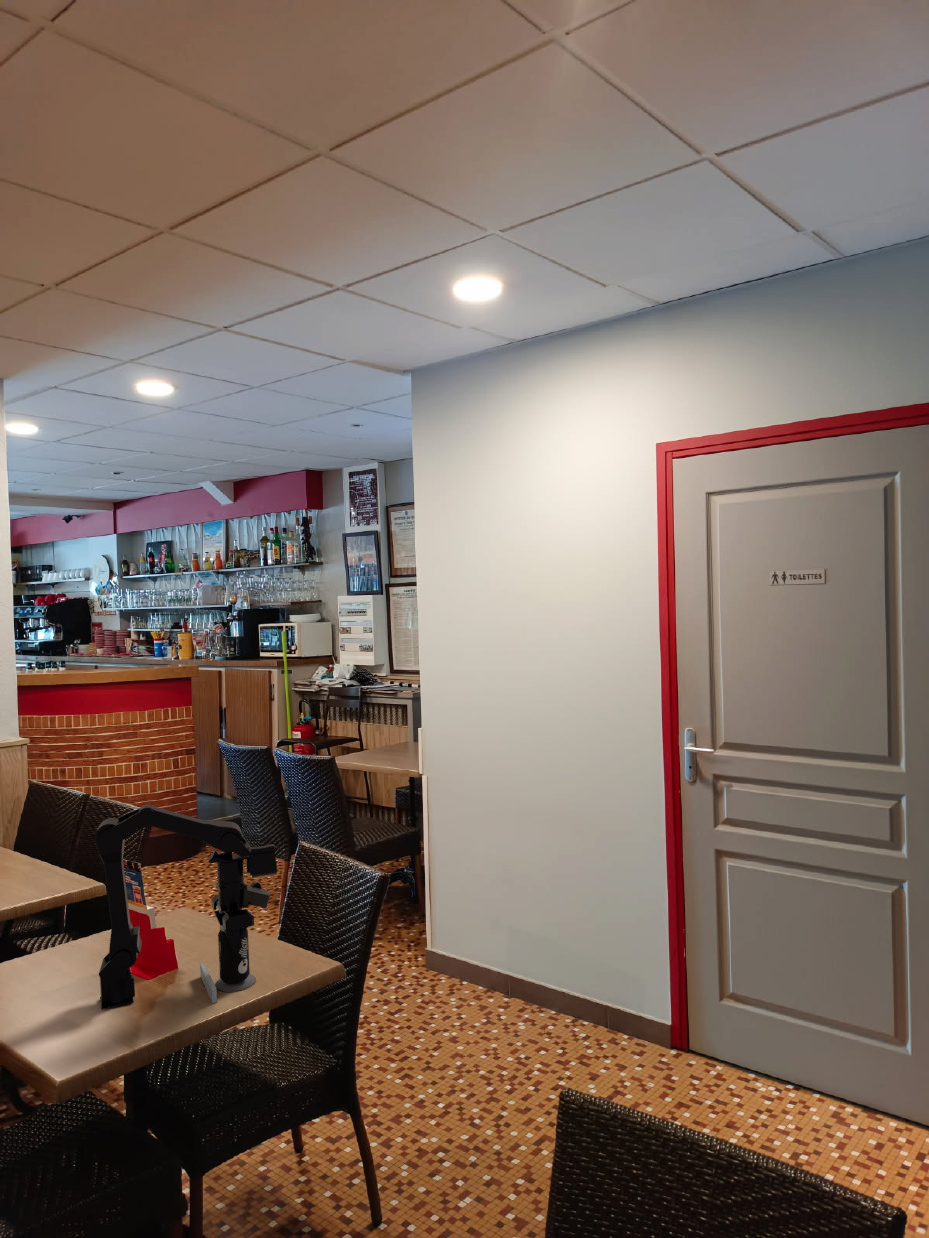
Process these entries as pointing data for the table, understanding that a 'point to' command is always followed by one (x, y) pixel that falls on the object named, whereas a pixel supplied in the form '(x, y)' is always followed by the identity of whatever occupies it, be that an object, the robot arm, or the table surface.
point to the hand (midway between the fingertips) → (233, 947)
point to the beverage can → (233, 959)
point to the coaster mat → (235, 984)
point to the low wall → (208, 983)
